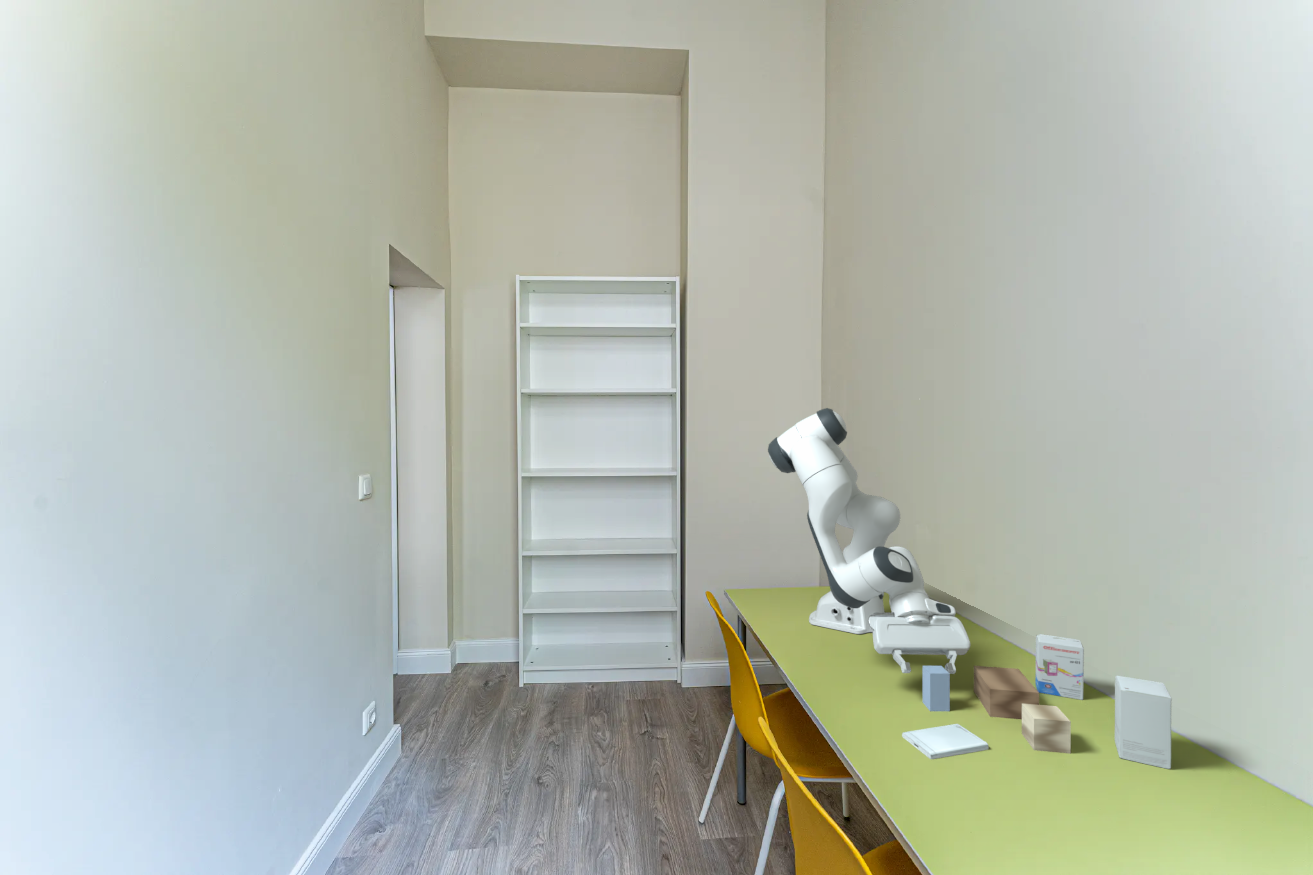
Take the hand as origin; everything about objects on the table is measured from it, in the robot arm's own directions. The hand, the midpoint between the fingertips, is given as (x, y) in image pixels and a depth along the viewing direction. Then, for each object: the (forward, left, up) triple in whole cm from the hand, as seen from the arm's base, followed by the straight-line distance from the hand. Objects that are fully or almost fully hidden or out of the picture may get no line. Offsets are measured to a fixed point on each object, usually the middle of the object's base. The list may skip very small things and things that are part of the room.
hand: (929, 672), depth 130 cm
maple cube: (+20, -8, -7) cm, 23 cm away
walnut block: (+14, +6, -7) cm, 17 cm away
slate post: (+1, -1, -7) cm, 7 cm away
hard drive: (+3, -16, -7) cm, 18 cm away
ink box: (+25, +18, -7) cm, 32 cm away
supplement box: (+35, -5, -7) cm, 36 cm away
